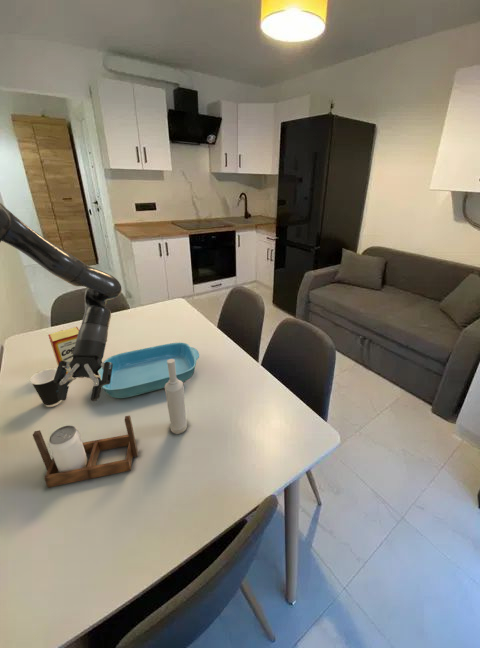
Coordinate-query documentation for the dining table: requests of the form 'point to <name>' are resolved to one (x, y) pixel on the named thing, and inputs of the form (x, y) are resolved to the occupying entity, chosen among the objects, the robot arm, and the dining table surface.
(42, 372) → the dixie cup
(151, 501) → the dining table surface
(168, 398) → the bottle
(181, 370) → the casserole dish
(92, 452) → the frame
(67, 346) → the baking soda box
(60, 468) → the can
